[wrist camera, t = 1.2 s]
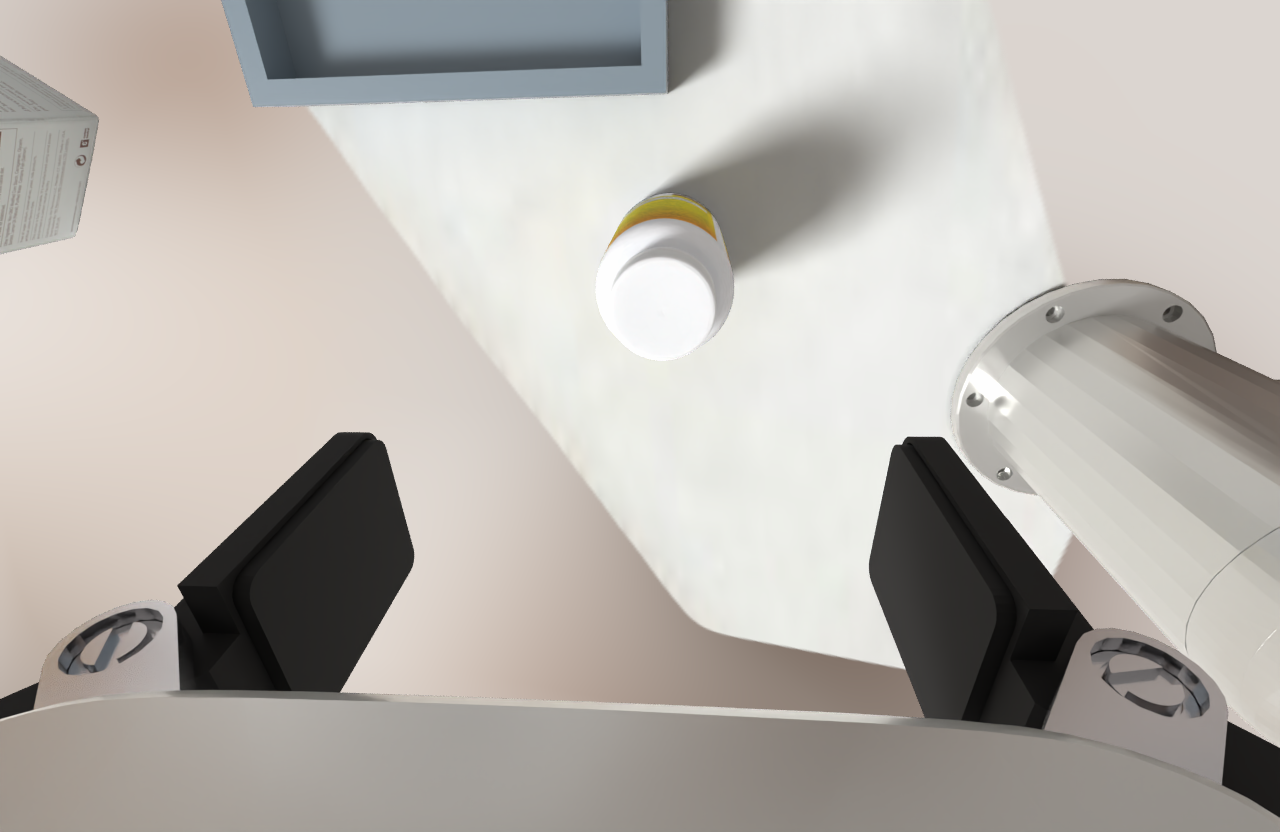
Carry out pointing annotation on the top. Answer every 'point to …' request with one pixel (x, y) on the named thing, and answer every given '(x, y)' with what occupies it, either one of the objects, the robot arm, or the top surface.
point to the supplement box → (40, 160)
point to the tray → (447, 49)
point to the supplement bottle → (665, 278)
